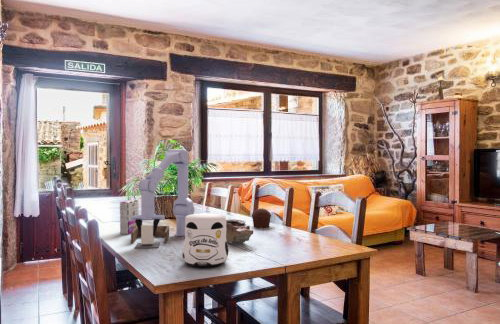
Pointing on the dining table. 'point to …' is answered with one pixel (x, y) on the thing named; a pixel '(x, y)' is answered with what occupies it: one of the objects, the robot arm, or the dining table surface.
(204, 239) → the dulce de leche canister
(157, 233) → the walnut u-shaped frame
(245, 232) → the grey-brown irregular lump
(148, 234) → the cream block
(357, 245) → the dining table surface
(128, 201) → the candy bar box
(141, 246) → the charcoal mat
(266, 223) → the muffin
